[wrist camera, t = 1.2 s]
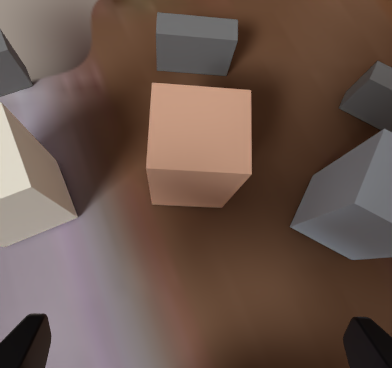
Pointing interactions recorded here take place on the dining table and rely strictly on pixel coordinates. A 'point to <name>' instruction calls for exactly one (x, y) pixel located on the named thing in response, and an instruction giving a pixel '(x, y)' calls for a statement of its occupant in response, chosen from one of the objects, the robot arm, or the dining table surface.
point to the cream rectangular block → (28, 185)
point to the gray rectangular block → (352, 202)
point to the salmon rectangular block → (198, 144)
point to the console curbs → (220, 63)
